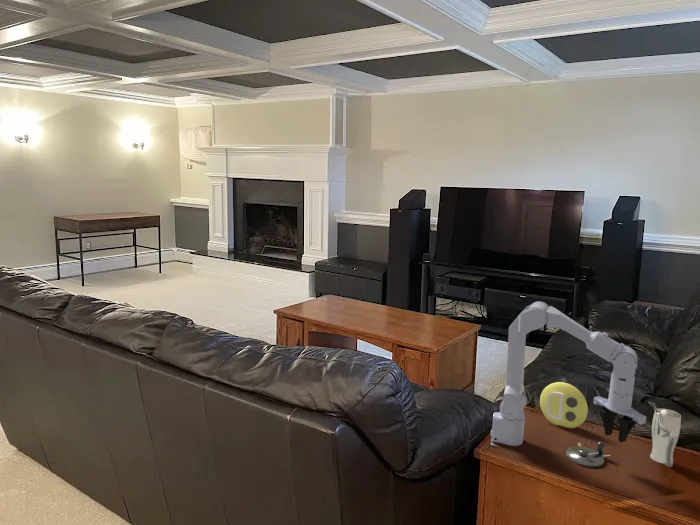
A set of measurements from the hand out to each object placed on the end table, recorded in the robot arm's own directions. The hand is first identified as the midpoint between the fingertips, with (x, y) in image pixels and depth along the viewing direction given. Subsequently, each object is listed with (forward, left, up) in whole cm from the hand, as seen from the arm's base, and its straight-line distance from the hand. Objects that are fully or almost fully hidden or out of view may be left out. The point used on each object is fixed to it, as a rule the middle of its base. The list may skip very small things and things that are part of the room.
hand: (615, 437), depth 151 cm
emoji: (-11, +23, -10) cm, 27 cm away
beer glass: (+15, +10, -10) cm, 20 cm away
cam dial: (-7, +2, -8) cm, 11 cm away
